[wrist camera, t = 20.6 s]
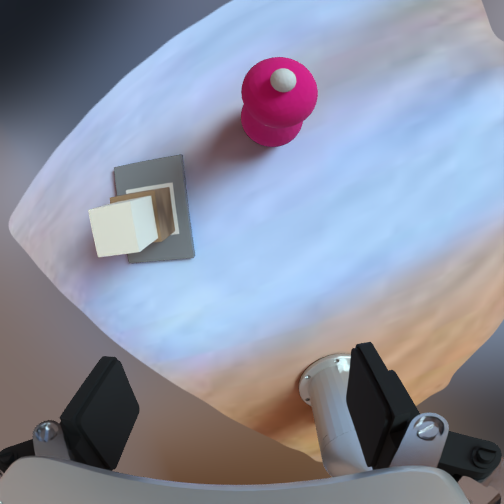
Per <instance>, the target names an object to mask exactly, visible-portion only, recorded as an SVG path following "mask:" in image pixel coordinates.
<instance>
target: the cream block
mask: <svg viewBox="0 0 504 504" xmlns="http://www.w3.org/2000/svg"><path fill="white" fill-rule="evenodd" d="M88 211H89V217H90V222H91V227H92V232H93V237H94V242H95V246H96V251H97V255H98V257H105V256H113V255H121V254H128V253H136V252H140V251H142V250H143V249H144V248H145V247H147V246H148V245H149V244H151V243H152V242H154V241H155V240H156V239H158V234H157V228H156V223H155V217H154V211H153V205H152V198H151V196H145V197H140V198H135V199H130V200H125V201H120V202H115V203H111V204H107V205H104V206H100V207H97V208H94V209H90V210H88Z"/></svg>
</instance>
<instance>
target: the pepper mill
mask: <svg viewBox="0 0 504 504" xmlns="http://www.w3.org/2000/svg"><path fill="white" fill-rule="evenodd" d="M241 93H242V100H243V103H244V105H243V108H242V112H241V123H242V126H243V129H244V131H245V132H246V134H247V135H248V136H249V137H250V138H251V139H252V140H253V141H255V142H256V143H258V144H260V145H263V146H268V147H277V146H282V145H284V144H287V143H289V142H290V141H292V140H293V139H294V138H295V137H296V136H297V134H298V133H299V131H300V129H301V126H302V123H303V121H304V120H305V119H306V118H307V117H308V116H309V115H310V114H311V113H312V111H313V109H314V107H315V105H316V102H317V97H318V90H317V85H316V82H315V80H314V78H313V76H312V74H311V73H310V71H309V70H308V69H307V68H306V67H305V66H304V65H302V64H300V63H299V62H297V61H295V60H292V59H289V58H284V57H275V58H269V59H265V60H263V61H261V62H259V63H257V64H256V65H254V66H253V67H252V68H251V69H250V70H249V72H248V73H247V74H246V76H245V78H244V81H243V84H242V91H241Z"/></svg>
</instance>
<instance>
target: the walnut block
mask: <svg viewBox="0 0 504 504" xmlns="http://www.w3.org/2000/svg"><path fill="white" fill-rule="evenodd" d="M145 196H151V198H152V205H153V211H154V217H155V223H156V228H157V234H158V239H156V240H155V241H154V242H162V241H163V240H165V239H166V238H167V237H168V236H170V235H171V234H172V233H173V232H175V225H174V218H173V211H172V203H171V195H170V187H165V188H159V189H152V190H146V191H140V192H134V193H129V194H124V195H120V196H116V197H111V198H110V204H111V203H115V202H120V201H125V200H130V199H135V198H140V197H145ZM152 243H153V242H152Z"/></svg>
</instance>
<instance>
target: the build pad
mask: <svg viewBox="0 0 504 504" xmlns="http://www.w3.org/2000/svg"><path fill="white" fill-rule="evenodd" d="M114 173H115V182H116V190H117V196H120V195H124V194H129V193H134V192H140V191H146V190H152V189H159V188H165V187H170V195H171V203H172V211H173V218H174V225H175V232H173V233H172V234H171V235H170V236H168V237H167V238H166V239H165V240H163V241H162V242H153V243H151V244H149V245H148V246H147V247H145V248H144V249H143V250H142V251H140V252H136V253H128V254H127V256H128V261H129V263H139V262H150V261H161V260H173V259H184V258H194V257H195V251H194V244H193V237H192V230H191V223H190V216H189V208H188V200H187V192H186V183H185V175H184V165H183V156H182V155H176V156H170V157H164V158H159V159H153V160H148V161H143V162H138V163H133V164H128V165H123V166H119V167H114Z"/></svg>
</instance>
